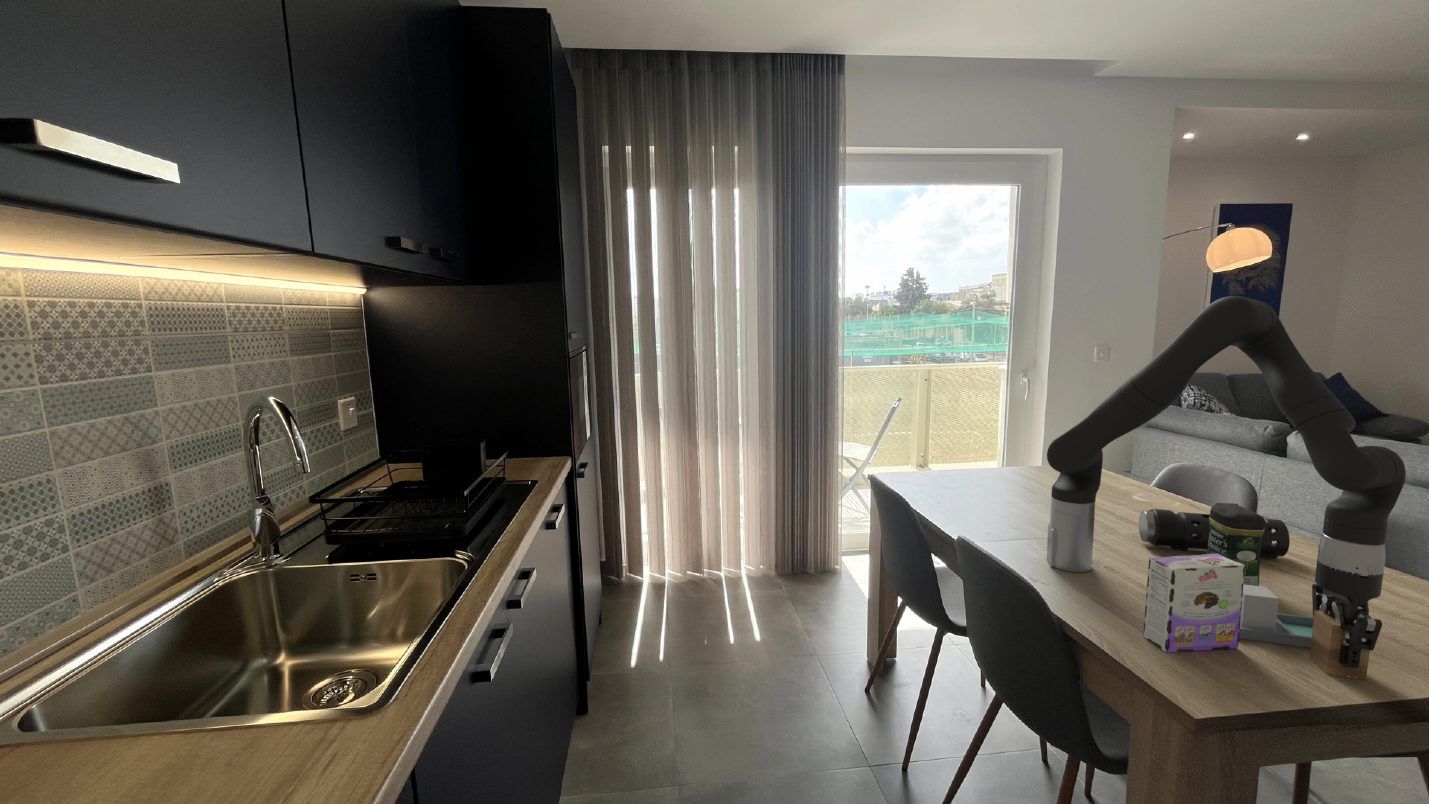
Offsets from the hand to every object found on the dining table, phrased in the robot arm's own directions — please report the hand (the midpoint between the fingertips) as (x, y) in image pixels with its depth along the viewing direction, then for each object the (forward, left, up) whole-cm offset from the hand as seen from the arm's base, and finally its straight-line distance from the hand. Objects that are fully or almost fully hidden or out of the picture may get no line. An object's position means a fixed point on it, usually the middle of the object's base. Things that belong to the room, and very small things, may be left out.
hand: (1338, 656), depth 98 cm
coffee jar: (-3, +32, -2) cm, 32 cm away
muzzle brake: (0, +53, -3) cm, 53 cm away
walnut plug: (0, 0, -2) cm, 2 cm away
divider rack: (-3, +11, -2) cm, 12 cm away
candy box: (-20, +2, -2) cm, 20 cm away
